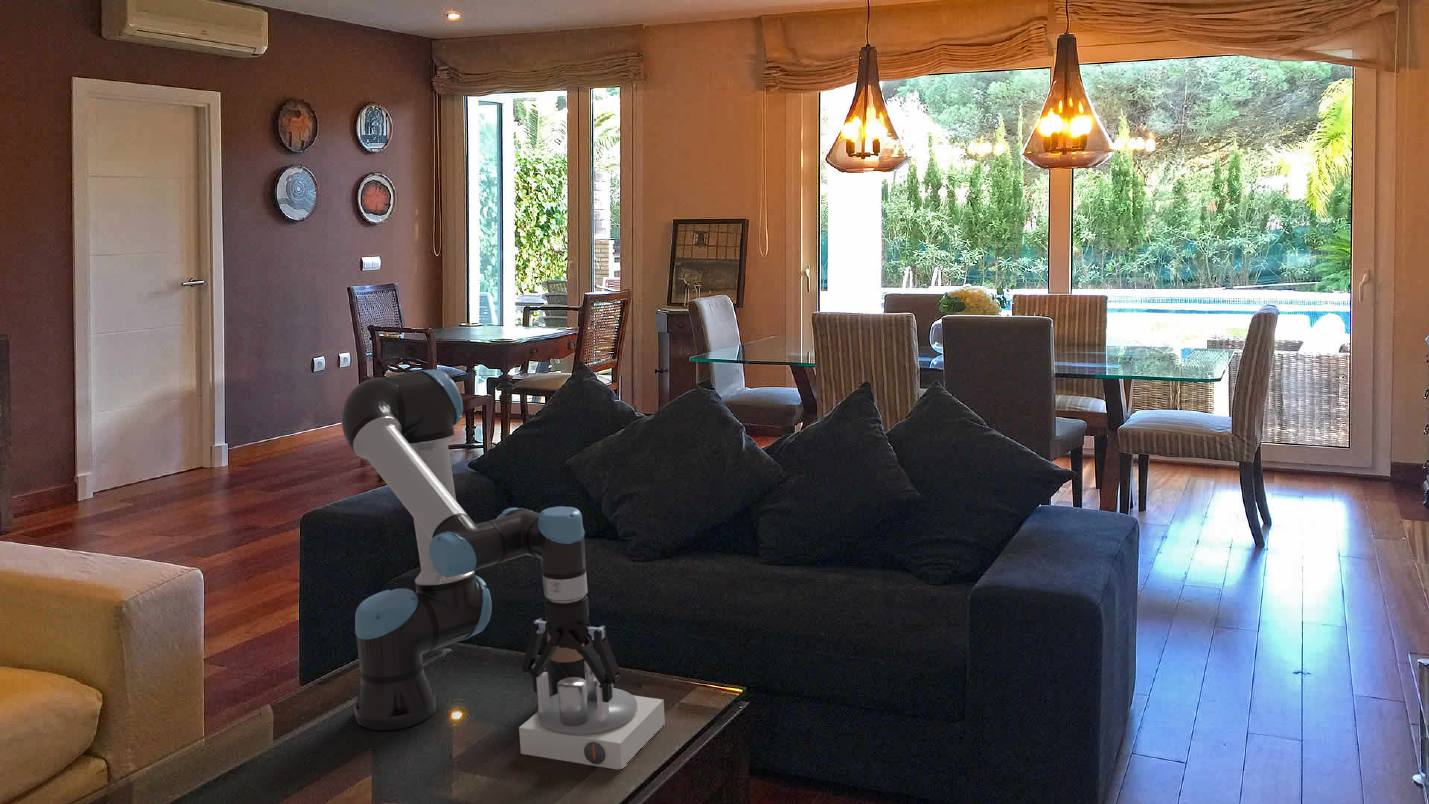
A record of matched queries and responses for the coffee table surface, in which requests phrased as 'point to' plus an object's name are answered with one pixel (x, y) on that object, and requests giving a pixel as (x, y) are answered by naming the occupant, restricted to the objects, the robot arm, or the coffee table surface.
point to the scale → (595, 732)
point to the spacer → (572, 701)
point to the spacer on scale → (592, 684)
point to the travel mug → (565, 665)
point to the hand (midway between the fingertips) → (573, 713)
